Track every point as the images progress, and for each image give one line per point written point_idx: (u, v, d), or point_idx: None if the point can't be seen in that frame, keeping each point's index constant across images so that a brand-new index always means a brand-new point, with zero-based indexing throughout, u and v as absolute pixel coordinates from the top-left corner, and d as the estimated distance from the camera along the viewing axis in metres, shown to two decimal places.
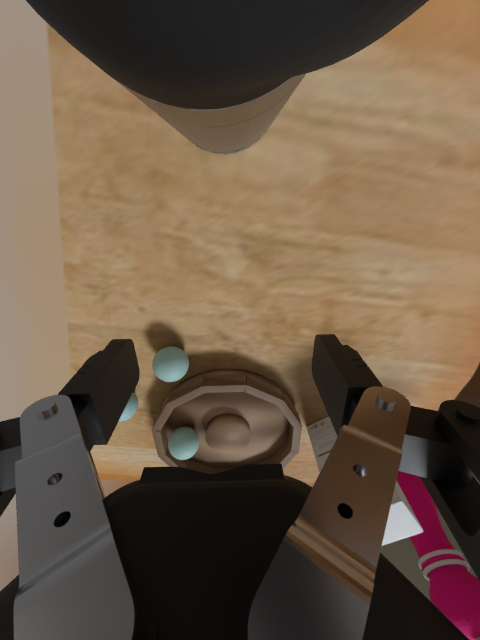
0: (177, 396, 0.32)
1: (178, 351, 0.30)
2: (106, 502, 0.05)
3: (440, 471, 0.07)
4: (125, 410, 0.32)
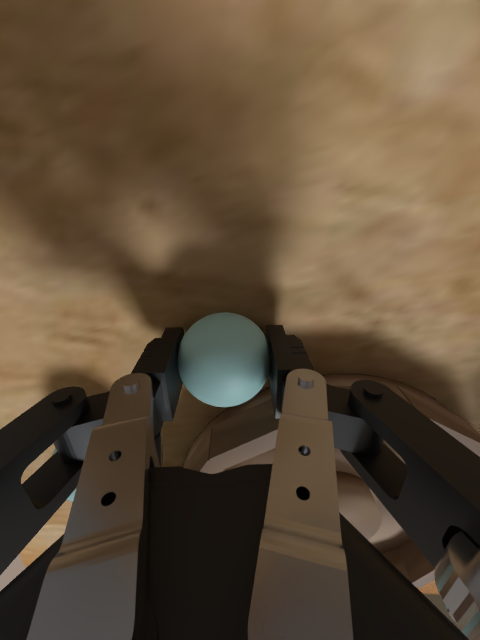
0: (234, 441, 0.13)
1: (249, 324, 0.11)
2: (151, 494, 0.06)
3: (351, 442, 0.08)
4: None
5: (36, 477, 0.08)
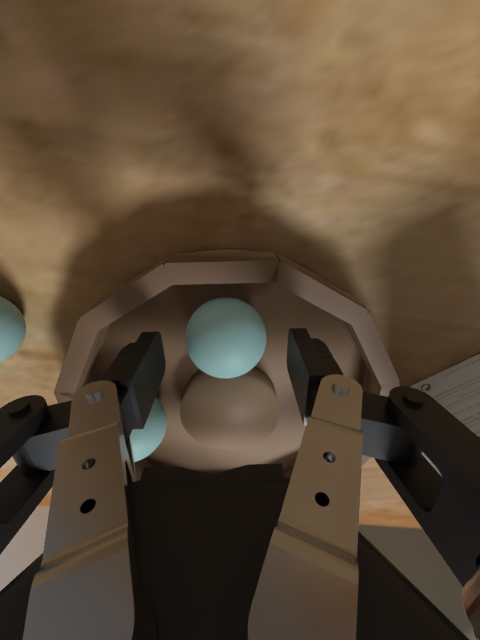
0: (104, 300, 0.13)
1: (247, 306, 0.13)
2: (131, 495, 0.06)
3: (389, 452, 0.08)
4: None
5: None
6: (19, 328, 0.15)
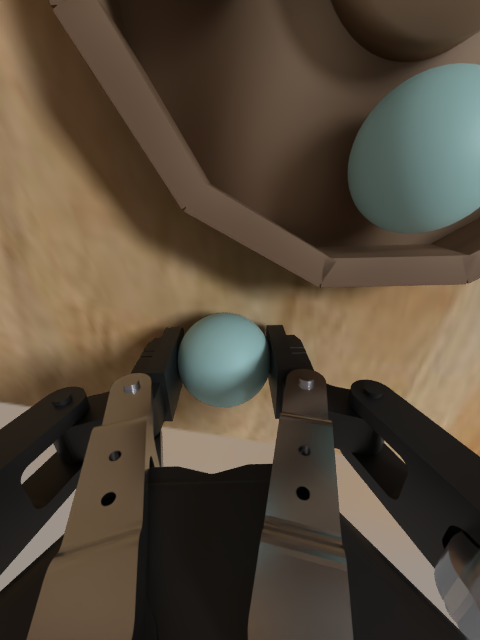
0: None
1: None
2: (151, 494, 0.06)
3: (351, 442, 0.08)
4: (207, 354, 0.10)
5: (36, 477, 0.08)
6: (226, 315, 0.11)
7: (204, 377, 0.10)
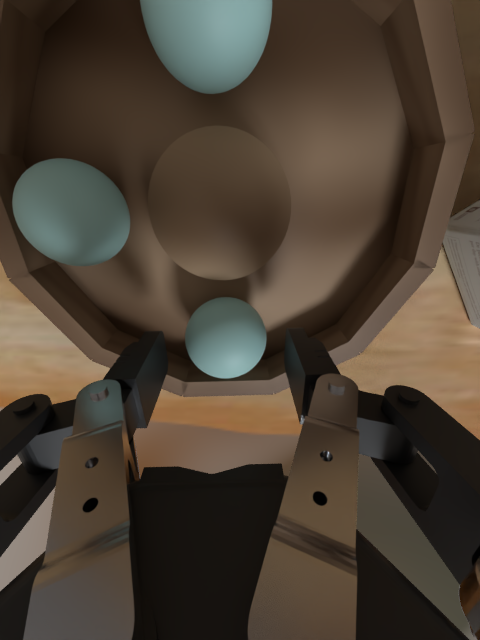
0: None
1: None
2: (133, 495, 0.06)
3: (385, 450, 0.08)
4: (211, 330, 0.12)
5: (0, 492, 0.07)
6: (227, 298, 0.13)
7: (209, 349, 0.12)
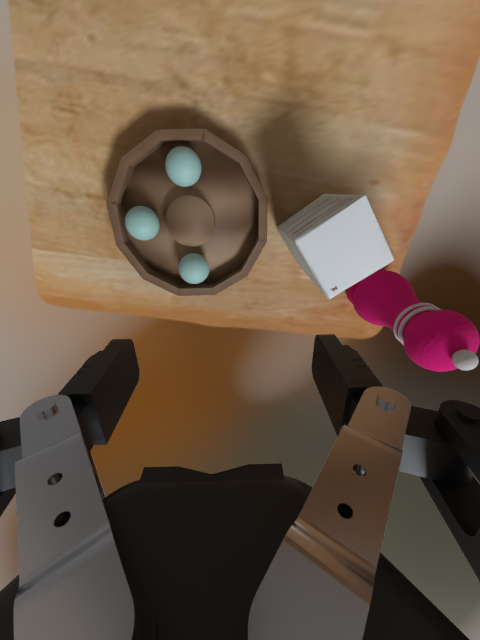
0: None
1: (191, 149, 0.30)
2: (106, 502, 0.05)
3: (440, 471, 0.07)
4: (187, 262, 0.34)
5: None
6: (194, 253, 0.35)
7: (186, 268, 0.34)
